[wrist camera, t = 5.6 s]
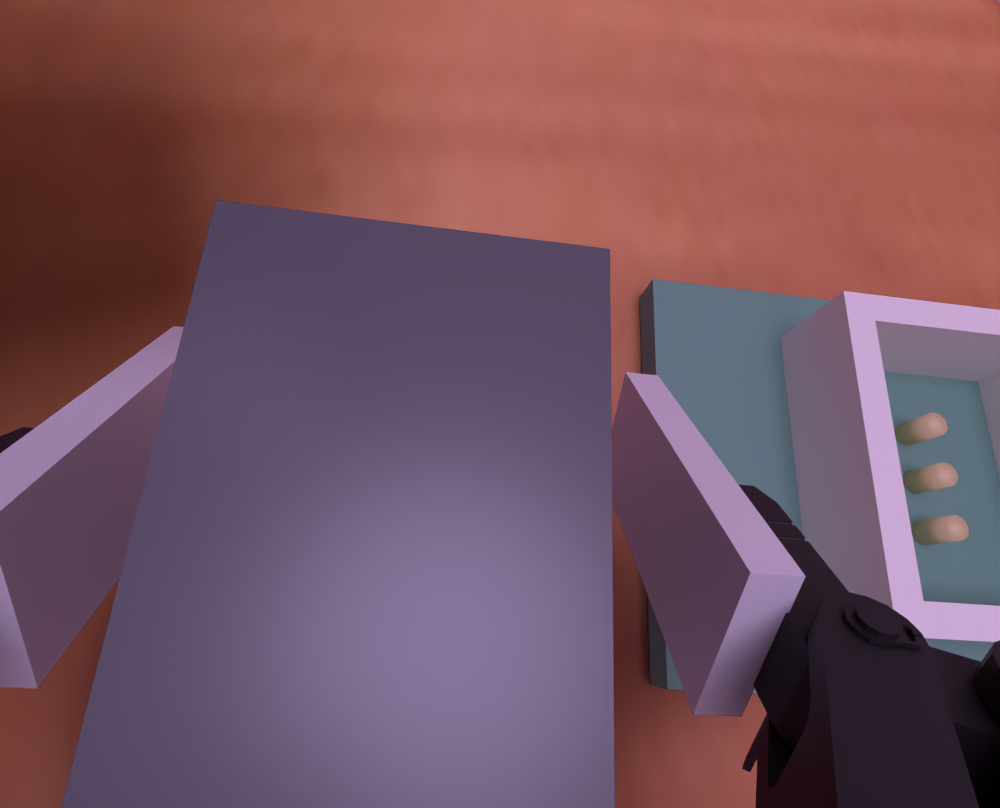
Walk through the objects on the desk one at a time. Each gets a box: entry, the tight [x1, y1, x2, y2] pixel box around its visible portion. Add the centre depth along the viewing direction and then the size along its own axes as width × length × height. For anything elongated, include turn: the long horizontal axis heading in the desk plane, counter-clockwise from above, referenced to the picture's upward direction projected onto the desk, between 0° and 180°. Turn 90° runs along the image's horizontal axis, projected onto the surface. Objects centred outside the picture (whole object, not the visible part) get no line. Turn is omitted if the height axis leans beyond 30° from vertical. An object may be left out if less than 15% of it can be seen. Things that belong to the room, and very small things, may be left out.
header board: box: [640, 279, 1000, 693], centre depth 17 cm, size 16×12×4 cm
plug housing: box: [61, 200, 615, 808], centre depth 11 cm, size 4×5×12 cm
